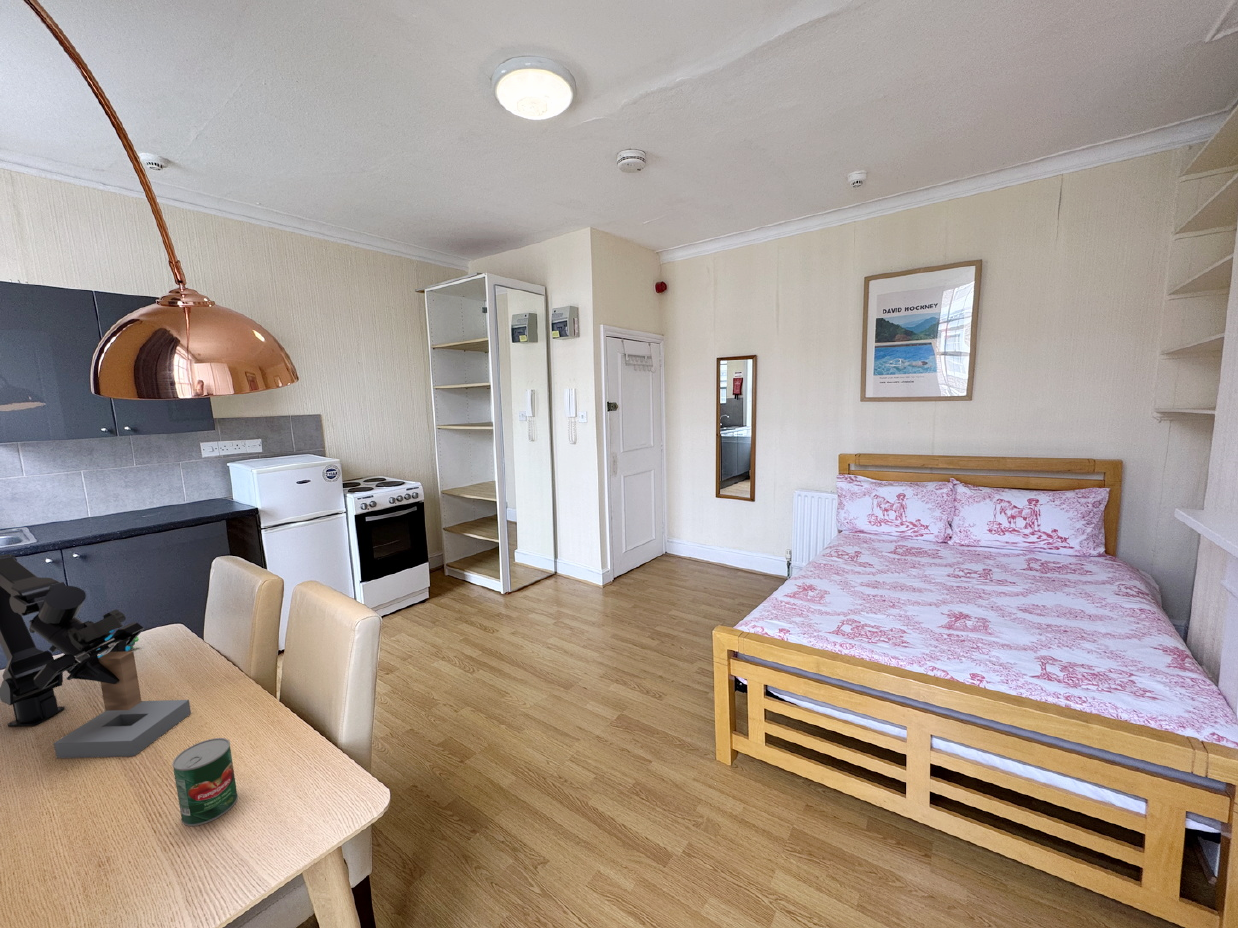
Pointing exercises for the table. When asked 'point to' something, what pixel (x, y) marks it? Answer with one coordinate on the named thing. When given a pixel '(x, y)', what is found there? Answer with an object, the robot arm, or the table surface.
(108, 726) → the socket block
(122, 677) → the walnut peg
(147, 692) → the table surface
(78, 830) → the table surface
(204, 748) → the canned tomato
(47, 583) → the robot arm
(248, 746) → the table surface
